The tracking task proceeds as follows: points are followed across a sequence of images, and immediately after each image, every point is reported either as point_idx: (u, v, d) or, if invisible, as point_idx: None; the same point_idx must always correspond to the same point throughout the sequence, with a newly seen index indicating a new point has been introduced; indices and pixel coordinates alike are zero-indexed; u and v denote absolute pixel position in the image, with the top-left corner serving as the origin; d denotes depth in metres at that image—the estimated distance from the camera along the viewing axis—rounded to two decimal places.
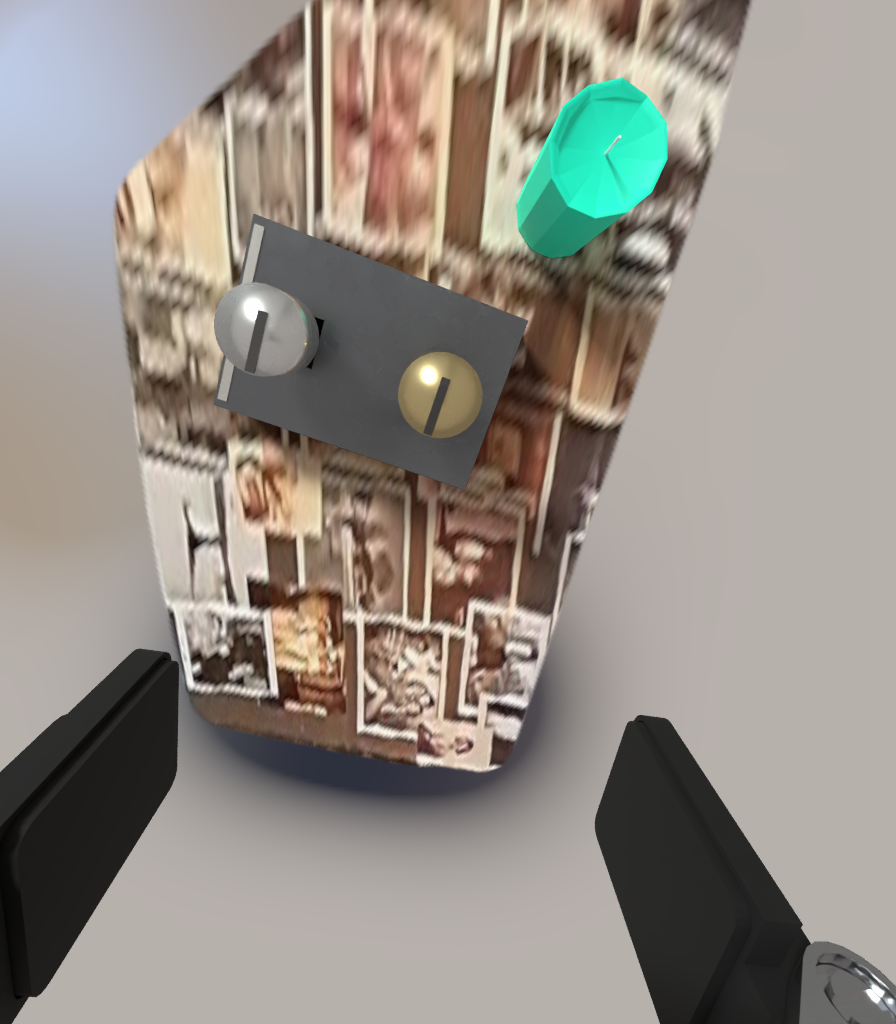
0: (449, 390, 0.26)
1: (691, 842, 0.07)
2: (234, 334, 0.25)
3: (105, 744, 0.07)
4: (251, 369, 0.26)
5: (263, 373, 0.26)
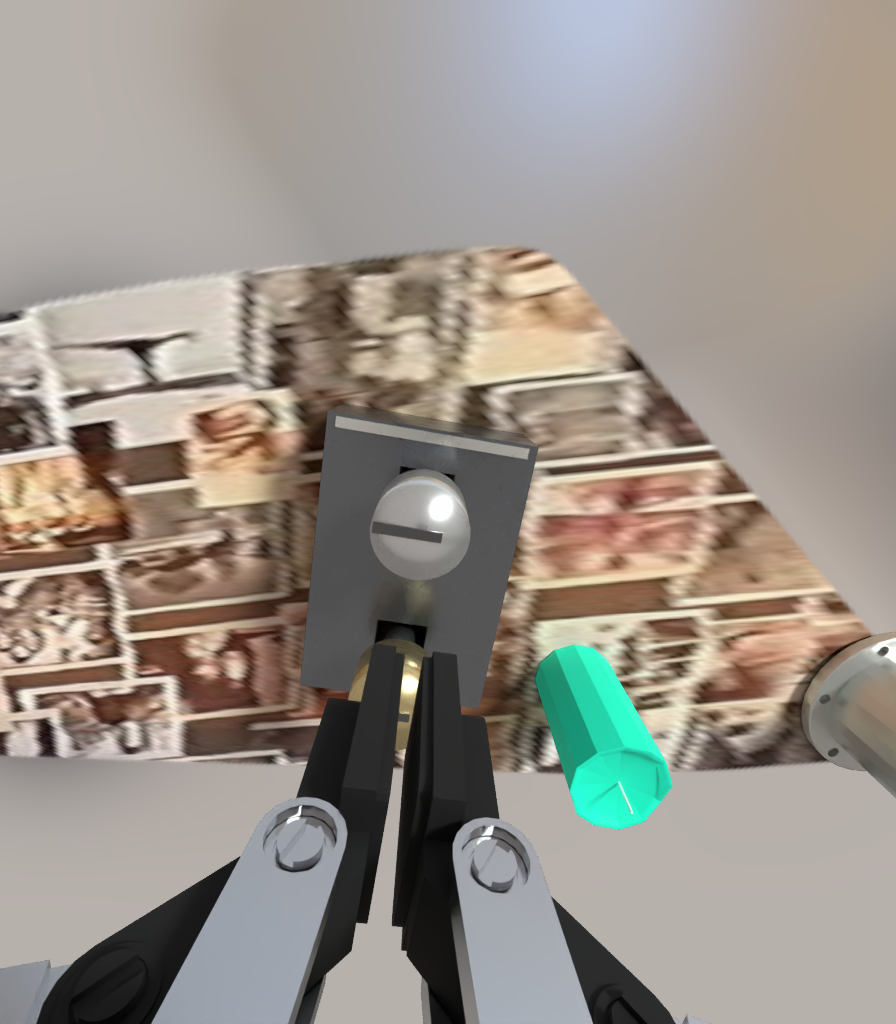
0: None
1: (419, 746, 0.08)
2: (410, 507, 0.22)
3: None
4: (375, 528, 0.22)
5: (374, 541, 0.22)
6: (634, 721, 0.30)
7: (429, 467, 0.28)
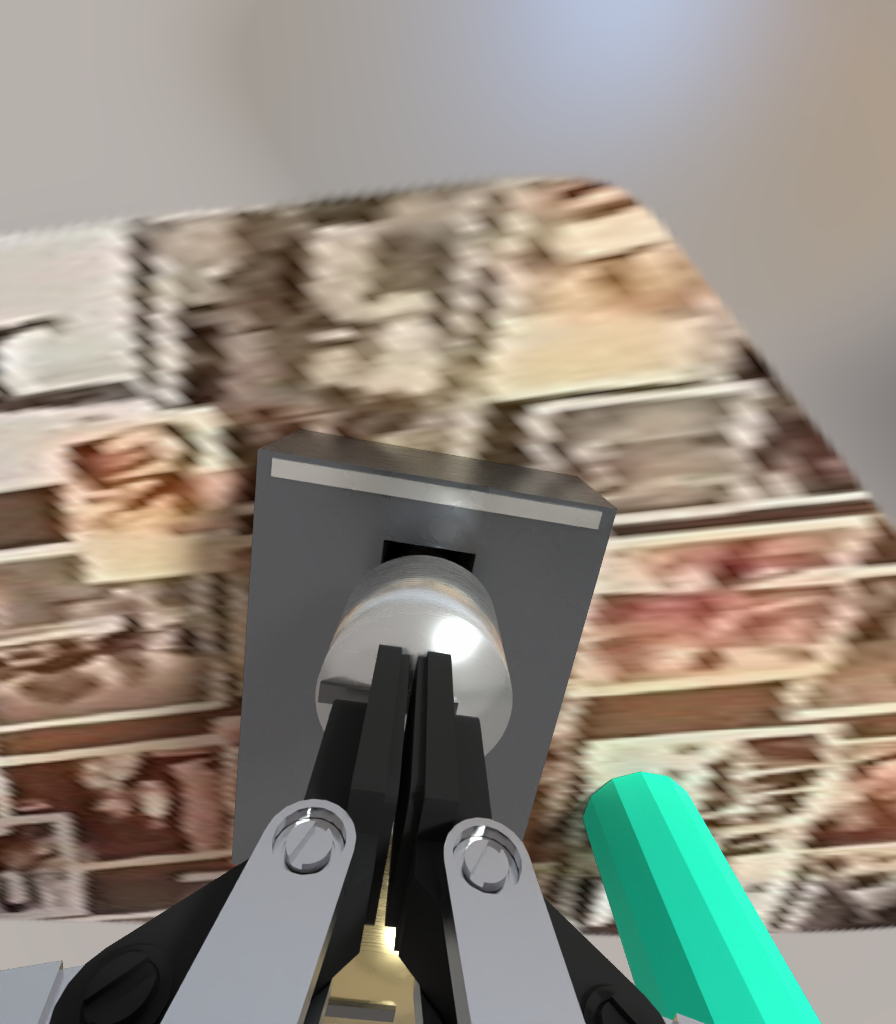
0: (373, 1017, 0.14)
1: (412, 745, 0.08)
2: None
3: None
4: (326, 693, 0.11)
5: (324, 716, 0.11)
6: (763, 946, 0.19)
7: (432, 542, 0.17)
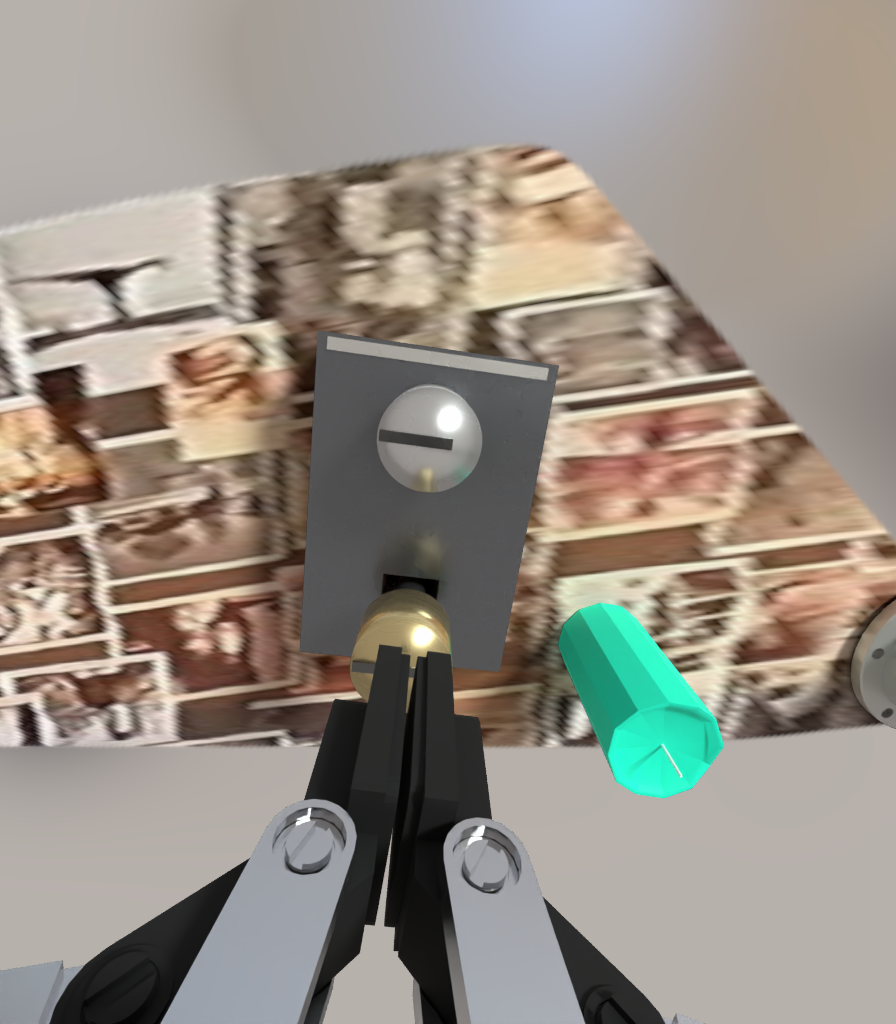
0: (410, 677, 0.22)
1: (412, 746, 0.08)
2: (419, 412, 0.21)
3: None
4: (382, 436, 0.21)
5: (381, 451, 0.21)
6: (676, 677, 0.27)
7: None
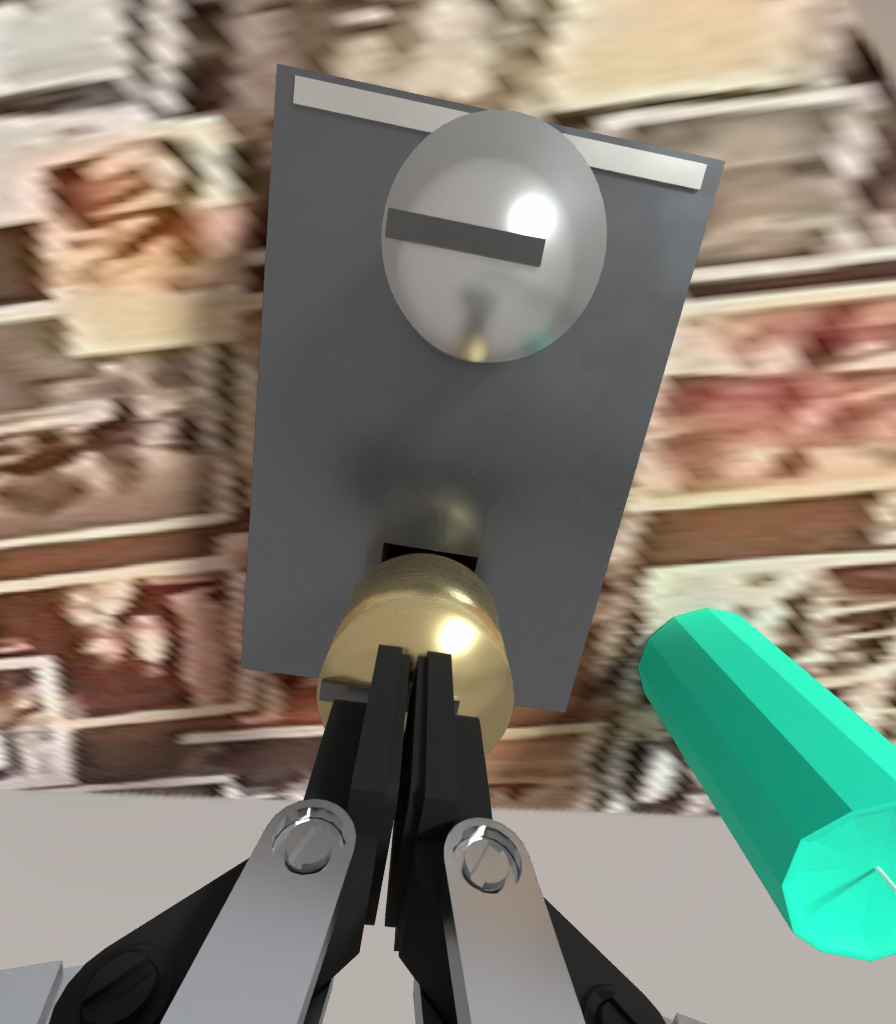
0: None
1: (412, 745, 0.08)
2: (475, 172, 0.10)
3: None
4: (393, 228, 0.10)
5: (390, 263, 0.10)
6: (887, 740, 0.15)
7: None
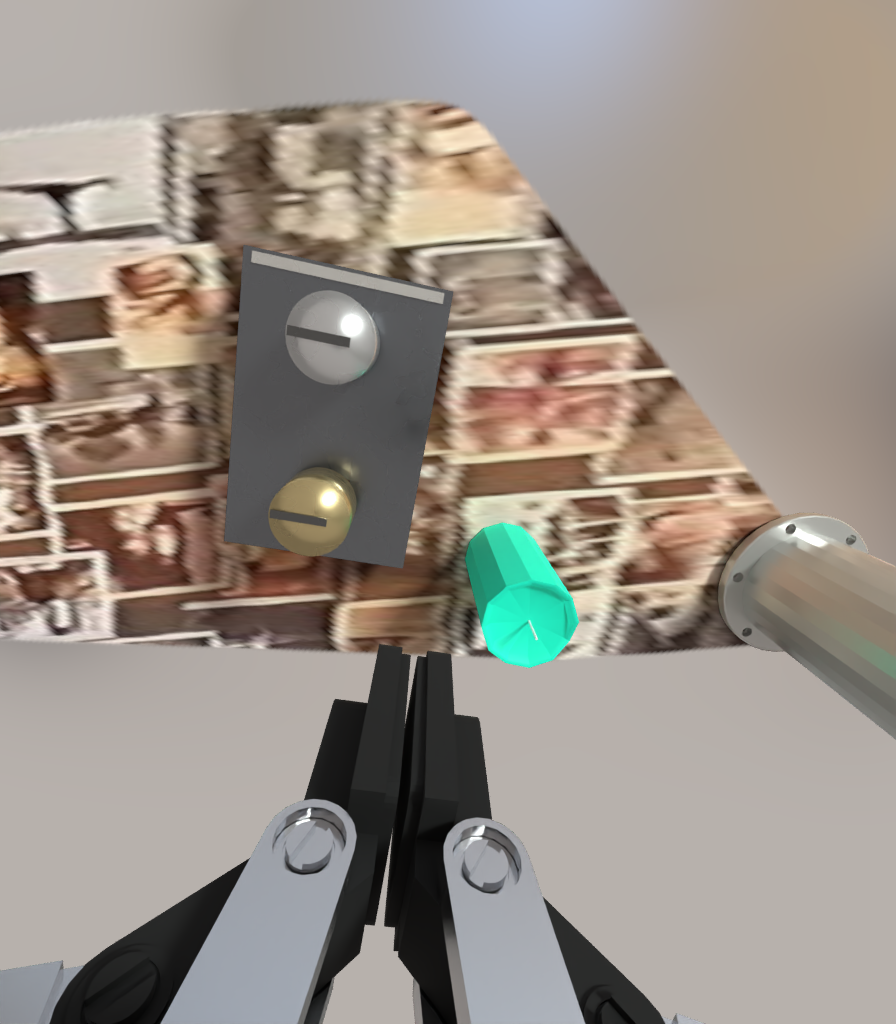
0: (316, 526, 0.28)
1: (412, 745, 0.08)
2: (321, 312, 0.25)
3: None
4: (290, 331, 0.25)
5: (289, 345, 0.25)
6: (547, 568, 0.31)
7: None
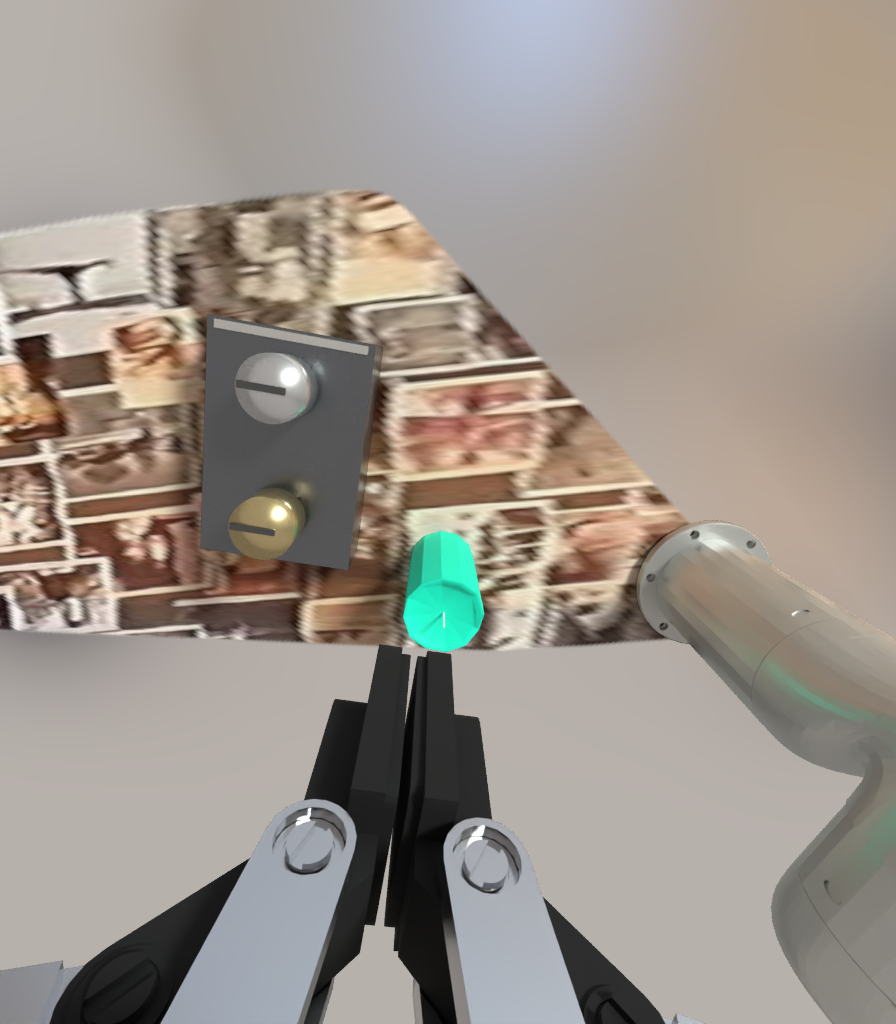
0: (266, 535, 0.35)
1: (412, 745, 0.08)
2: (262, 369, 0.32)
3: None
4: (238, 384, 0.32)
5: (238, 394, 0.32)
6: (461, 569, 0.38)
7: None
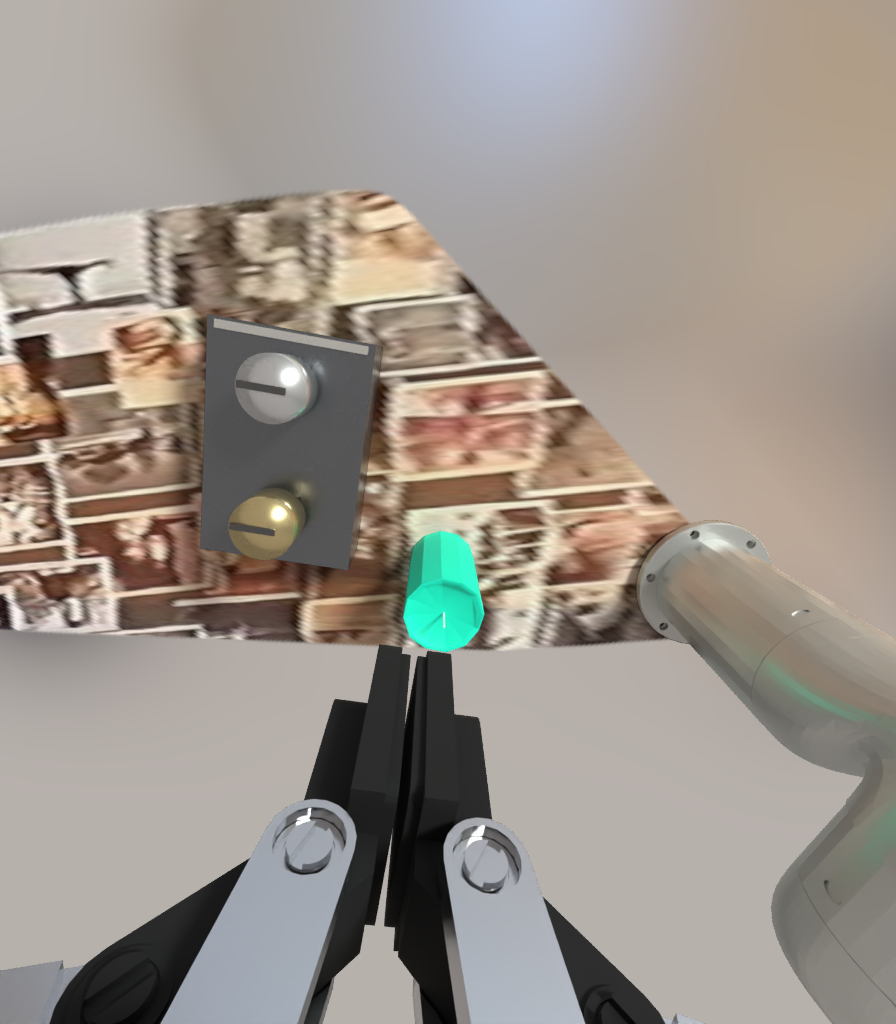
0: (266, 535, 0.35)
1: (412, 745, 0.08)
2: (262, 369, 0.32)
3: None
4: (238, 384, 0.32)
5: (238, 394, 0.32)
6: (461, 569, 0.38)
7: None
